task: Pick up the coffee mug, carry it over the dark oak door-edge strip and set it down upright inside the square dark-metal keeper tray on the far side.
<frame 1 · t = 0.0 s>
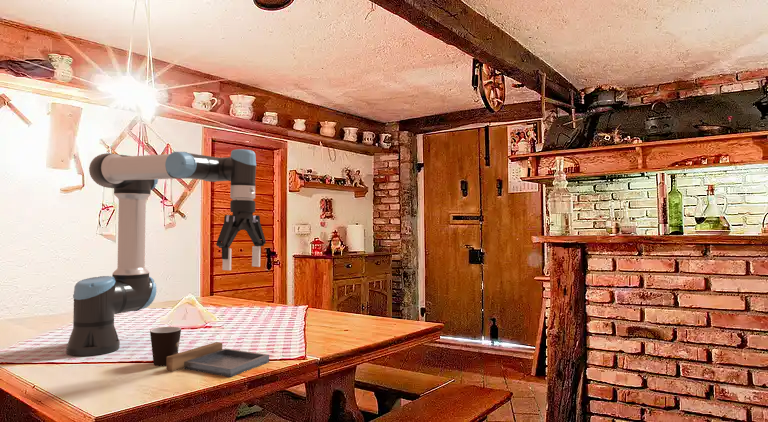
hand: (242, 268, 163), 28 cm above the table, fingers open, 13 cm apart
keeper tray: (227, 365, 155), on the table
door edge strip: (195, 362, 158), on the table
coffee mug: (168, 362, 158), on the table
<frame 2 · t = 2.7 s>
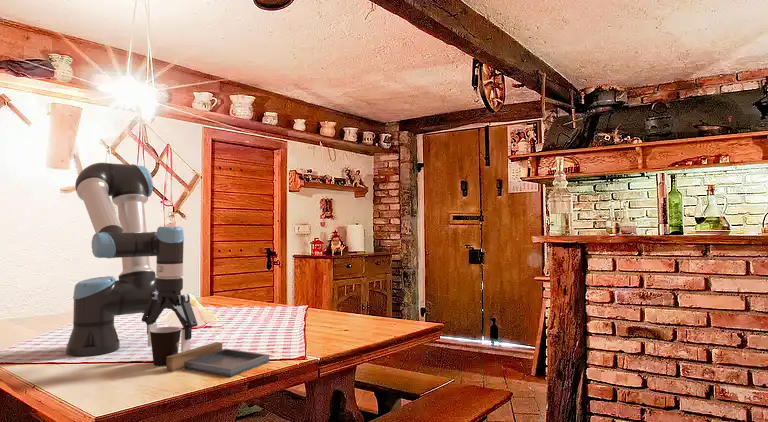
hand: (168, 348, 158), 4 cm above the table, fingers open, 13 cm apart
nothing on the table moved.
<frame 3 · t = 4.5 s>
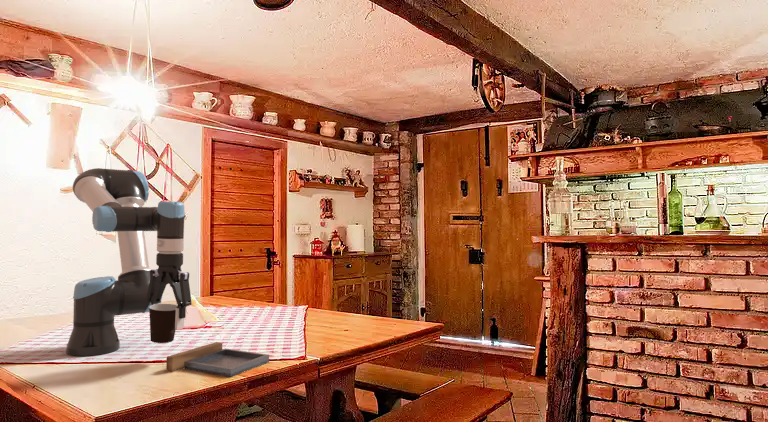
hand: (168, 327, 159), 10 cm above the table, fingers closed on coffee mug, 9 cm apart
coffee mug: (165, 339, 159), point 7 cm above the table, touching gripper
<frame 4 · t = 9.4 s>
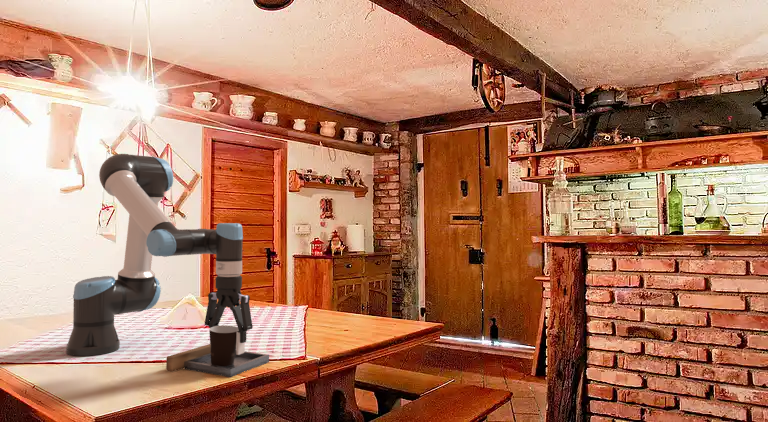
hand: (227, 351, 155), 4 cm above the table, fingers closed on coffee mug, 9 cm apart
coffee mug: (224, 362, 155), point 1 cm above the table, touching gripper, keeper tray
when the fingers open (4 cm above the table, at t = 10.0 s): coffee mug stays where it is, resting on keeper tray.
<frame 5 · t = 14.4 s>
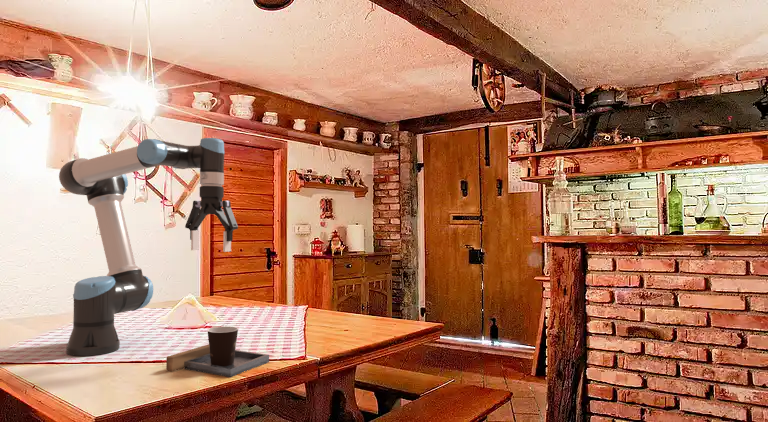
hand: (210, 250, 171), 33 cm above the table, fingers open, 13 cm apart
coffee mug: (224, 363, 155), point 1 cm above the table, touching keeper tray
at the end: coffee mug inside the target area on the keeper tray (1.1 cm from its centre), point 0.6 cm above the keeper tray's base; coffee mug tilted 0°; the gripper is holding nothing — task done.
